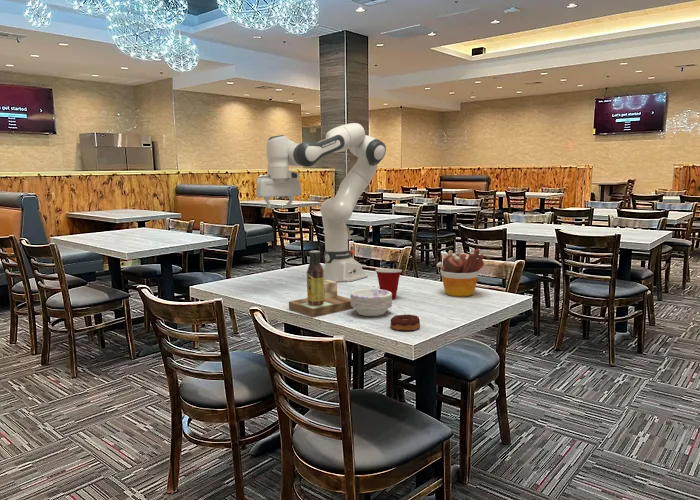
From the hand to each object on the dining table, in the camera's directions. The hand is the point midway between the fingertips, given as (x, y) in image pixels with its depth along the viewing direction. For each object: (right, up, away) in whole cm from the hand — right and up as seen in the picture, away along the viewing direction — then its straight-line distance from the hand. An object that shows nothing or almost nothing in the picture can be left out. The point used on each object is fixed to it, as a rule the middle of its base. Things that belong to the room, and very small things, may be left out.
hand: (279, 207), depth 227 cm
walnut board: (+19, -40, -22) cm, 50 cm away
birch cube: (+21, -36, -16) cm, 45 cm away
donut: (+48, -44, -49) cm, 81 cm away
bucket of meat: (+76, -37, -3) cm, 84 cm away
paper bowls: (+38, -41, -30) cm, 63 cm away
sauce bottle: (+17, -38, -28) cm, 50 cm away
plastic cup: (+46, -38, -7) cm, 60 cm away
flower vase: (+24, -28, +62) cm, 72 cm away
